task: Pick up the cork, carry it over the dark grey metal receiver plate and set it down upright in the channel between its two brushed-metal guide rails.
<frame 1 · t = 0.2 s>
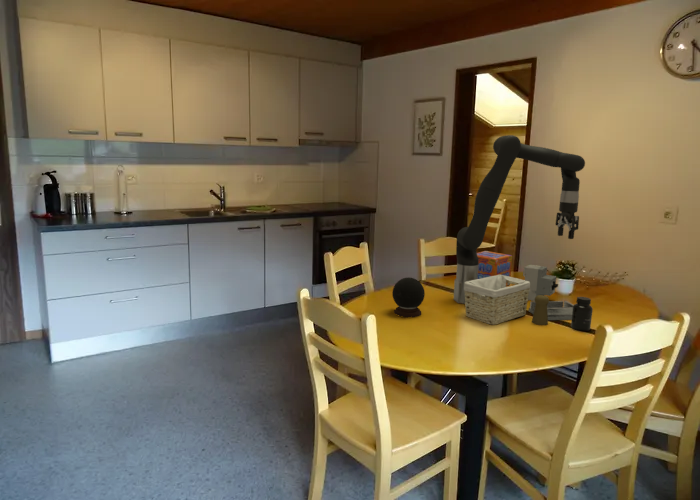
hand: (565, 237, 224), 29 cm above the table, fingers open, 8 cm apart
cork: (539, 323, 197), on the table
game box: (488, 285, 254), on the table
receiver: (553, 315, 206), on the table
supplement bottle: (580, 328, 191), on the table
storage basket: (494, 316, 204), on the table
black ball on stand: (407, 313, 206), on the table
circuit breaker: (539, 300, 228), on the table
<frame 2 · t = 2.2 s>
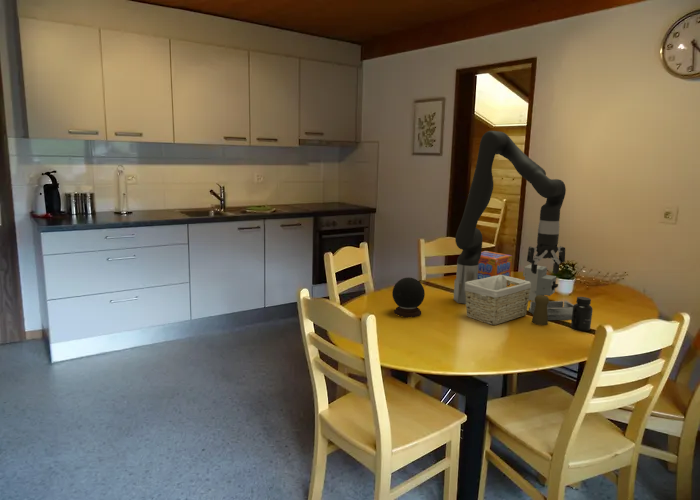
hand: (544, 273, 194), 20 cm above the table, fingers open, 8 cm apart
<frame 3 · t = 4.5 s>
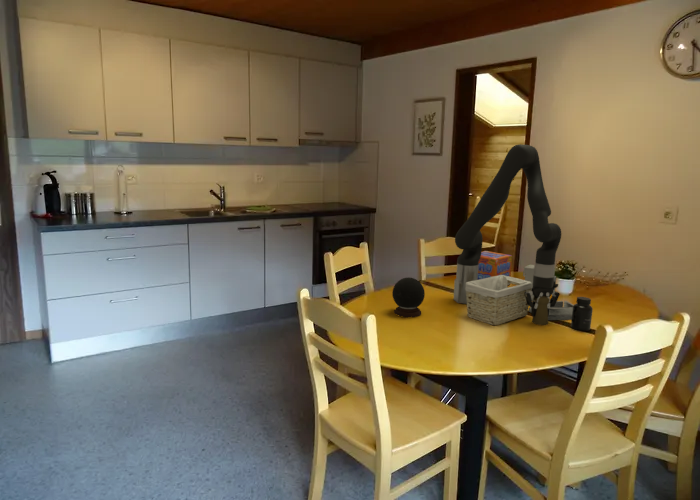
hand: (539, 316, 197), 2 cm above the table, fingers closed on cork, 4 cm apart
cork: (539, 323, 197), on the table, touching gripper
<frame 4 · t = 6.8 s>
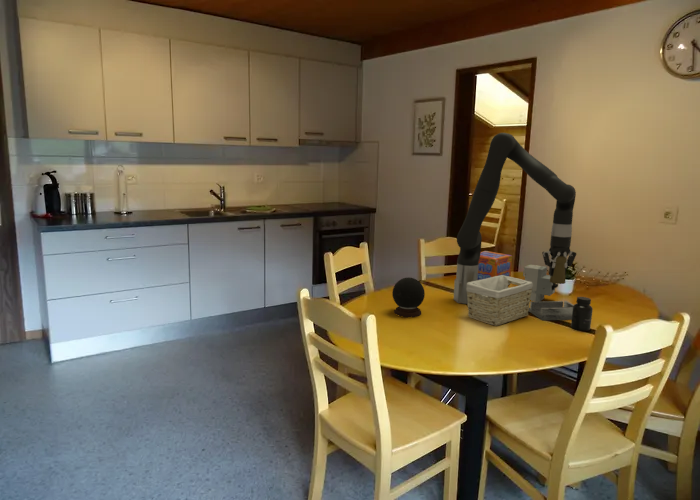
hand: (557, 276, 203), 17 cm above the table, fingers closed on cork, 4 cm apart
cork: (557, 282, 203), point 14 cm above the table, touching gripper
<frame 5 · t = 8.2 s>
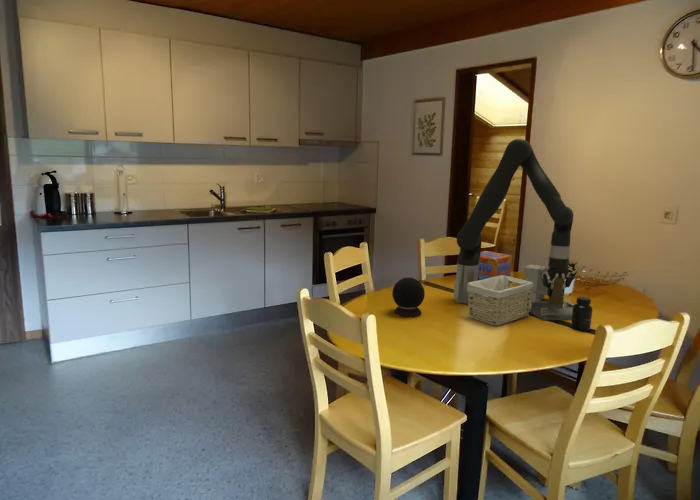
hand: (555, 297, 205), 8 cm above the table, fingers closed on cork, 4 cm apart
cork: (555, 303, 205), point 5 cm above the table, touching gripper
when the fingers open (5 cm above the table, at t = 9.1 s): cork drops 1 cm, resting on receiver.
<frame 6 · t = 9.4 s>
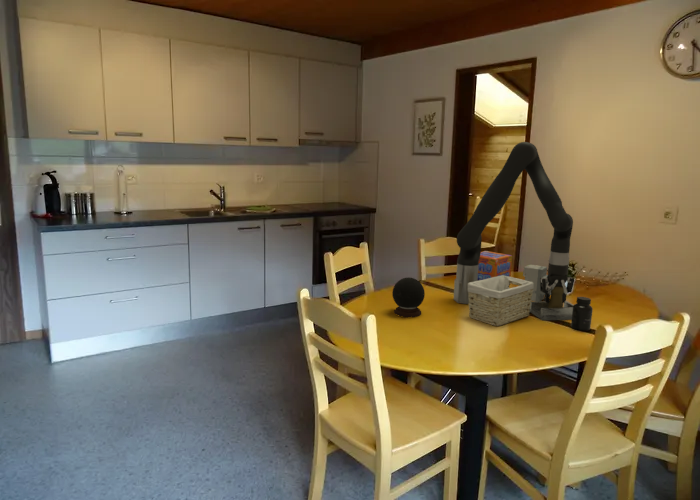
hand: (554, 302, 205), 6 cm above the table, fingers open, 6 cm apart
cork: (554, 312, 206), point 1 cm above the table, touching receiver
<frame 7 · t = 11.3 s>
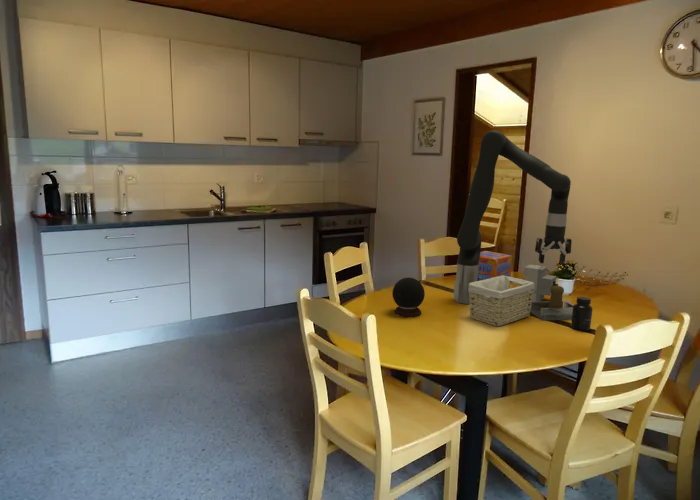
hand: (551, 263, 205), 21 cm above the table, fingers open, 8 cm apart
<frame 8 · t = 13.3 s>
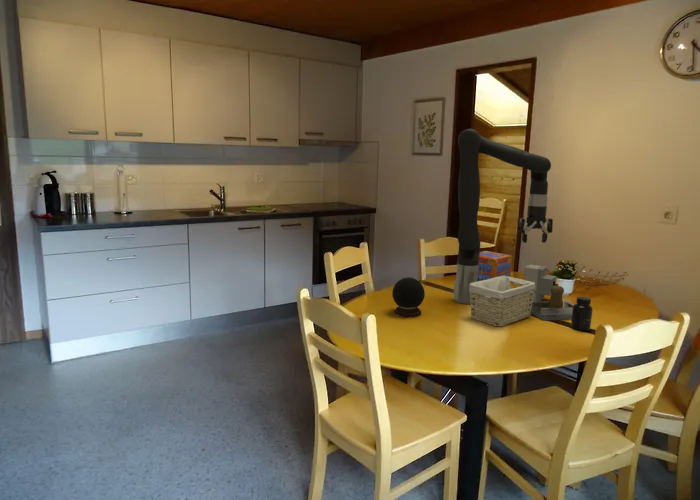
hand: (534, 242, 214), 28 cm above the table, fingers open, 8 cm apart
at the end: cork inside the target area on the receiver (0.4 cm from its centre), point 1.3 cm above the receiver's base; cork tilted 0°; the gripper is holding nothing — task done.
